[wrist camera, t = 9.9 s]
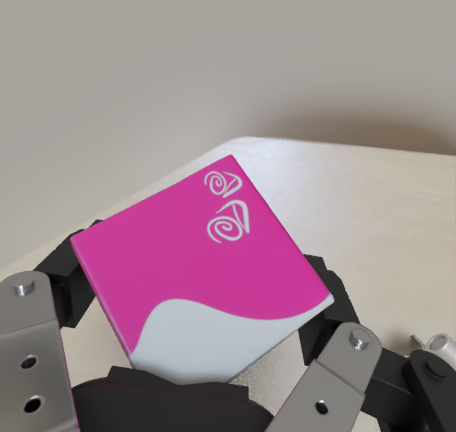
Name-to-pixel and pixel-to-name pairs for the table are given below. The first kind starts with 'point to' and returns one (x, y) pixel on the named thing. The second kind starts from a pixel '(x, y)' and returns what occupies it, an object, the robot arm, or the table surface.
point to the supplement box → (200, 277)
